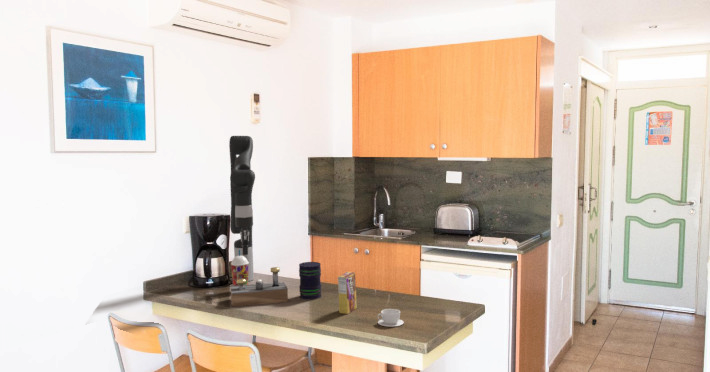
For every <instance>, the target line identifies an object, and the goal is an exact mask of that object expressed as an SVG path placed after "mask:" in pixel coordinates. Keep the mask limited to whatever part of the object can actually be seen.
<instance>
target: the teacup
mask: <svg viewBox="0 0 710 372" xmlns="http://www.w3.org/2000/svg"><path fill="white" fill-rule="evenodd" d="M379 316H381V318H380V317H379ZM400 317H401V311H400V310H399V309H398V308H397V309H396V308H385V309H382V310H381V311H380V313H378V314H377V319H378V321H377V323H378V325H380V326H382V327H383V326H384V327H389V328H390V327H399V326H403V324H405V322H404V320H402V319H400Z"/></svg>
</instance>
